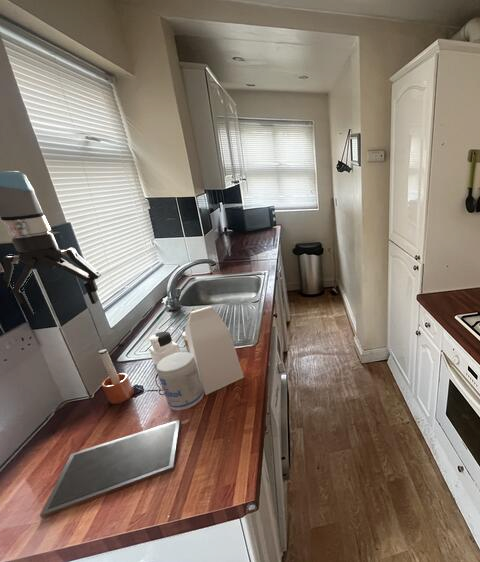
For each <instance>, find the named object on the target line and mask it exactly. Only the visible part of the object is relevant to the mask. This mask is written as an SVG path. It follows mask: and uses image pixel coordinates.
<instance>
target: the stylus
mask: <svg viewBox="0 0 480 562" xmlns="http://www.w3.org/2000/svg"><path fill="white" fill-rule="evenodd" d="M98 354H99V357H100V359H101V361H102V364H103V365H104V368H105V370H106V372H107V374H108V377H110V379H111V381H112V383H113V385H114V384H116V383H119V382H120V380H119V377H118V375H117V374H118V373H117V370H116V368H115V365H114V363H113V362H112V359H111V357H110V355H109V352H108V350H107V348H103V349H100V350H99V351H98Z"/></svg>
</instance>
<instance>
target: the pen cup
mask: <svg viewBox="0 0 480 562" xmlns="http://www.w3.org/2000/svg"><path fill="white" fill-rule="evenodd" d="M117 375H118V377H119V380H120V382H119V383H116V384H114V385H113V383H112V381H111V379H110V376H108V377H107V378H105V379H104V380H103V381H102V382H101V386H102V389H103V390H104V393H105V395H106V397H107V399H108V402H109V403H110V404H120V403H123V402H125V401H128V400H129V399H130V398H132V397H133V395H134V394H135V390H134V388H133V385H132V382H131V380H130V378H129V376H128V374H127V373H125V372H120V373H117Z"/></svg>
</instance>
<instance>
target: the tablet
mask: <svg viewBox="0 0 480 562" xmlns="http://www.w3.org/2000/svg"><path fill="white" fill-rule="evenodd" d="M181 426H182V420H181V419H176V420H173V421H171V422H167V423H164V424H161V425H157V426H155V427H151V428H147V429H145V430H142V431H139V432H135V433H132V434H130V435H126V436H123V437H119V438H117V439H113V440H110V441H107V442H104V443H101V444H96V445H93V446H91V447H87V448H84V449H82V450H77V451H75V452H72V453H71V454H70V455H69V457H68V458H67V461H66V462H65V464H64V467H63V469H62V470H61V473H60V475H59V477H58V478H57V481H56V483H55V484H54V487H53V489H52V491H51V493H50V494H49V496H48V499H47V500H46V502H45V505H44V506H43V508H42V510H41V512H40V514H39V517H40V518H41V520H42V519H45V518H49V517H51V516H53V515H56V514H59V513H63V512H65V511H67V510H70V509H72V508H76V507H78V506H80V505H83V504H86V503H89V502H91V501H94V500H97V499H99V498H103V497H105V496H108V495H111V494H113V493H116V492H119V491H122V490H125V489H128V488H129V487H133V486H135V485H138V484H140V483H144V482H146V481H149V480H151V479H153V478H157V477H160V476H162V475H164V474H168V473H170V472H172V471H175V469H176V462H177V455H178V447H179V441H180V435H181V428H182V427H181Z"/></svg>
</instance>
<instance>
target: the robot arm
mask: <svg viewBox="0 0 480 562" xmlns="http://www.w3.org/2000/svg"><path fill="white" fill-rule="evenodd" d="M18 219H19V220H18ZM0 220H1V221H2V223H3V226H4V228H5V229H6V231H7V233H8V235H9V236H11V237H12V238H11V243H12V244H13V246H14V248H15V251H17V253H18V255H14V256H8V255H6V256H4V257H2V260H3V263H4V269H3V275H2V279H3V278H4V280H5V282H6V283H7V288H8V287H9V284H10V281H11V277H12V274H13V270H14V265H13V264H17V265H18V264H19V262H22V263H23V264H24V265H25V267H24V268H23V270H22V272H21V273H20V275H19V277H18V279H17V280H16V282H15V283H14V284H13V286H14V287H13V288H11V292H12V294H13V293H14V294H13V295H14V297H15V299H16V301H17V302H18V303H19V304H20V305H21V304H23V305H24V307H25V309H26V311H27V313H28V315H29V316H33V315H34V314H35V313H34V312H33V309H32V307H31V305H30V303H29V301H28V298H27V296H26V294H25V291H23V292H21V291H20V288H21V287H22V286H23V285H24V283H25V282H26V280H27V278H28V277H29V276H30V274H31V273H32V271H33V270H34V269H35V270H37V271H40V270H45V269H54V268H58V269H61V270H64V271H65V272H67V273H68V274H71V275H73V276H75V277H77V278H78V279H81V280H82V281H84V282H83V285H84V289H85V290H86V293H87V296H88V297H89V300H90V303H91V304H92V305H95V304H97V302H99V298H98V295H97V293H96V292H97V291H98V289H99V287H98V285H97V283H96V280H98V279H99V278H100V277H101V276H102V273H101V272H99V270H97V269H96V268H95V267H94V266H93V265H92V264H90V263H89V262H88V261H87V260H85V259H84V258H83V257H82V256H81V255H80V254H79V253H78V251H77V249H76V248H75V247H69V248H67V249H60V248H59V245H58V243H57V241H56V238H55V236H54V234H53V233H52V232H50V231H51V230H52V229H51V226H50V225H49V222H48V220H47V218H46V216H45V214H44V212H43V209H42V207H41V205H40V202H39V200H38V197H37V194H36V192H35V188H33V186H32V184H31V183H30V181H29V179H28V177H27V175H26V174H25V173H24V172H22V171H18V170H9V171H0ZM63 256H65V257H66V258H69V259H70V260H71V261H72V262H73V263H74V264H76V265H77V266H78V267H77V266H75V265H74V264H72V263H70V262H69V261H68V260H65V259H64V258H63ZM18 261H19V262H18ZM80 268H81V269H80ZM35 270H34V271H35ZM34 271H33V272H34ZM32 274H33V273H32ZM32 274H31V275H32ZM30 277H31V276H30ZM26 283H27V282H26ZM11 292H10V293H11Z"/></svg>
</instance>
